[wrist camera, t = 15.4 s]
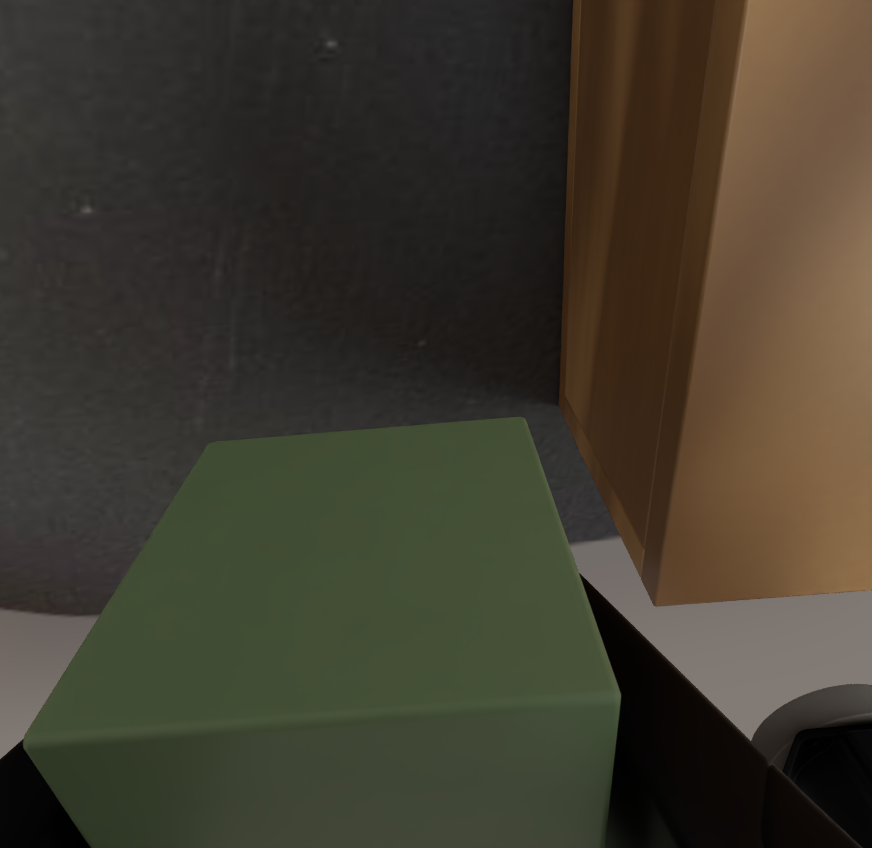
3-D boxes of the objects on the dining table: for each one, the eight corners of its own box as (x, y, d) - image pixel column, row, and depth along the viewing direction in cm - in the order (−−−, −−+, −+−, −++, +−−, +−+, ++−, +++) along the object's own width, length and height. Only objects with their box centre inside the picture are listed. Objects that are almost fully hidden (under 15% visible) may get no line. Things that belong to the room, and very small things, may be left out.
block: (527, 639, 10) (594, 968, 6) (274, 658, 10) (184, 997, 6) (525, 413, 8) (625, 697, 4) (207, 439, 8) (13, 743, 4)
